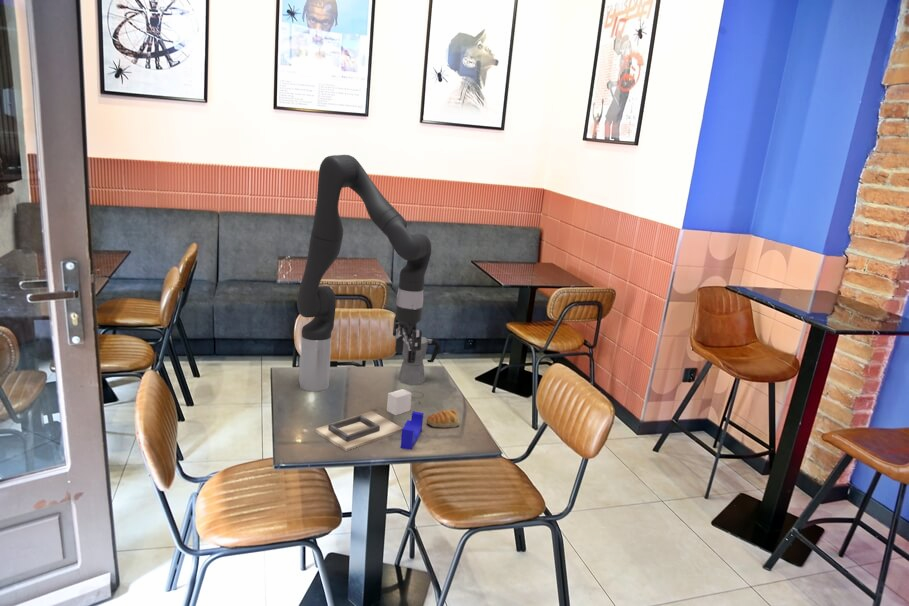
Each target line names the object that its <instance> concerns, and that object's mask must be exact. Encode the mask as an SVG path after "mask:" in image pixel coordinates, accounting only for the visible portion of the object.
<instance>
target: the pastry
mask: <svg viewBox="0 0 909 606" xmlns="http://www.w3.org/2000/svg"><path fill="white" fill-rule="evenodd" d="M426 423H427V424H428V425H430V427H431V426H432V427H433V428H441V429H442V428H445V429H446V428H456V427H458V426H459V425H460V418H459V413H458V412H457V410H455V409H449V410H448V409H446V410H445V409H444V410H439V411H438V412H436V413H432V414H430V415H428V416H427V418H426Z"/></svg>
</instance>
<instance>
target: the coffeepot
mask: <svg viewBox="0 0 909 606" xmlns="http://www.w3.org/2000/svg"><path fill="white" fill-rule="evenodd" d="M409 340H412V339H409ZM417 346H418V343H417ZM429 346H435V347H434V348H433V353H432V354H431V358H430V359H427V360H426V361H427V363H433V362H435V359H436V357H437V356H438V353H439V351H440V349H441V344H440V342H439V341H438V340H437V339H433V338H432V339H431V338H427V337H425V336H422V337H421V350H420V351H416V357H415V362H414V363H408V362H407V357H408V345H407V344H406V343H405V339H404V344H403V352H401V354H402V358H403V361H402V362H401V367H400V371H399V375H398V378H397V379H398V381H399V382H400V383H401V384H404V385H408V386H417V385H419V386H420V385H423V383H424V382H426V375H425V366H424V363H423V361H424V360H425V358H426V353H427V349H428V347H429Z"/></svg>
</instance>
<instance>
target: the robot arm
mask: <svg viewBox="0 0 909 606" xmlns="http://www.w3.org/2000/svg"><path fill="white" fill-rule="evenodd" d="M344 188H349V189H351V190H352V191H354V192H355V194H357V195H358V197H360V199H361V200H362V202H363V203H364V204H363V205H364V206H365V209H366V212H367V214H368V217H369V218H370V219H371V222H373V224H375V226H377V228H378V229H379V230H380V231H381V232H382V233H383V234H384V235H385V236H386V237H387V239H388V241H389V243H390V244H391V246H392V248H393V250H394V251H395V253H396V254H397V255H398V257H400V258H401V259H402V260H405V261H406V265H405V266H403V267H402V268H401V270H400V271H399V280H398V289H397V294H396V305H395V313H394V314H395V316H394V320H393V326H392V327H393V328H392V336H393V337H394V340H395V349H394V352H395V353H397V354H398V353H401V354H402V352H403V344H404V339H405V343H406V344H407V345H408V357H407V362H408V363H414V362H415V357H416V351H420V350H421V337H423V336H422V335H423V332H422V329H417V324H418V323H420V322H421V321H422V319H423V316H422V315H423V307H424V288H425V287H424V285H425V275H426V272H427V269H428V266H429V264H430V263H429V262H430V259H431V255H432V243H431V241H430V238H429V237H428V236H427V235H426V234H423V233H414V234H411V233H410V232H409V231H408V229H407V227H408V222H407V220H406V219H405V218H404V217H403V216H402V215H401V213H399V211H398V210H397V209H396V208H395V207H394V206H393V205H392V204H391V203H390V202H389V201H388V200H387V199H386V198H385V196H384V195H383V194H382V192H381V191H380V190H379V188H377V186H376V185H375V183H374V182H373V180H372V179H371V178H370V176H369V175H368V173H367V172H366V170H365V169H364V167H363V166H362V165H361V164H360V163H359V161H358V159H356V157H354V156H352V155H350V154H334V155H328V156H326V157H325V158H324V159H323V160H322V161H321V163H320V165H319V170H318V179H317V194H316V203H315V210H314V217H313V223H312V228H311V233H310V239H309V246H308V251H307V259H306V263H305V268H304V271H303V275H302V279H301V282H300V285H299V288H298V289H299V290H298V293H297V299H296V306H297V311H298V314H300V316H301V317H303V318H312V319H311V321H309V322H308V323H306V324H305V325H303V327H302V328H301V339H300V340H301V341H300V344H301V345H300V356H299V364H298V384H299V387H300V389H301V390H304V391H306V392H323V391H325V390H327V389H328V388H330V373H331V372H330V371H331V349H332V332H333V329H334V326H335V316H336V306H337V301H336V295H335V292H334V290H333V289H332V287H331V286H327V285H322V286H321V281H322V279H323V276H324V275H325V274H326V273H327V271H328V270H329V268H330V267H331V266H332V265H333V263H334V262H335V261H336V259H337V258H338V257H339V255H340V251H341V249H342V242H343V238H344V228H343V222H342V220H341V217H340V213H339V203H340V202H339V201H340V196H341V192H342V189H344ZM409 339H412V340H409ZM417 343H418V346H417Z"/></svg>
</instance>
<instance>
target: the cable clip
mask: <svg viewBox="0 0 909 606" xmlns="http://www.w3.org/2000/svg"><path fill="white" fill-rule="evenodd" d="M423 421H424V413H423V412H419V411H412V413H411V419H407V420H406V422H405V423H404V426H402V428H403V429H402V432H401V434H400V437H401V439H400V440H401V441H400V449H405V450H411V451H412V449H413V448H414V446H415V444H416V442H417V440H418V438H419V437H420V435H421V433H422V431H423Z"/></svg>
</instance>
